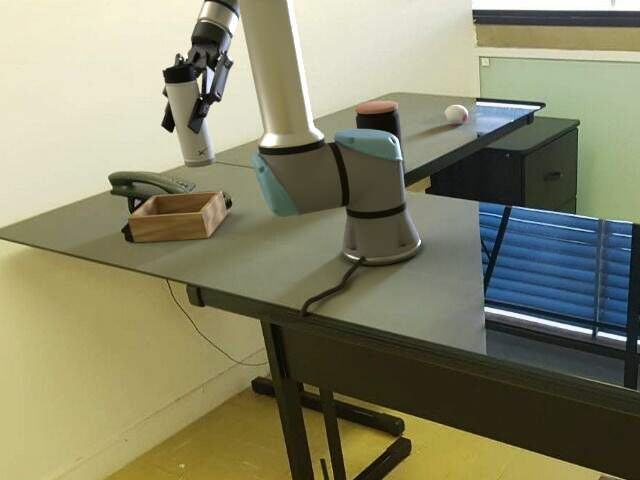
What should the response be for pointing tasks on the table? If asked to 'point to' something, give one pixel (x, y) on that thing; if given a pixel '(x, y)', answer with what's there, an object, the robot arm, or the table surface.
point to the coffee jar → (380, 119)
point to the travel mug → (188, 115)
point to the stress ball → (456, 114)
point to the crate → (178, 216)
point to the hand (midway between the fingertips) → (179, 129)
